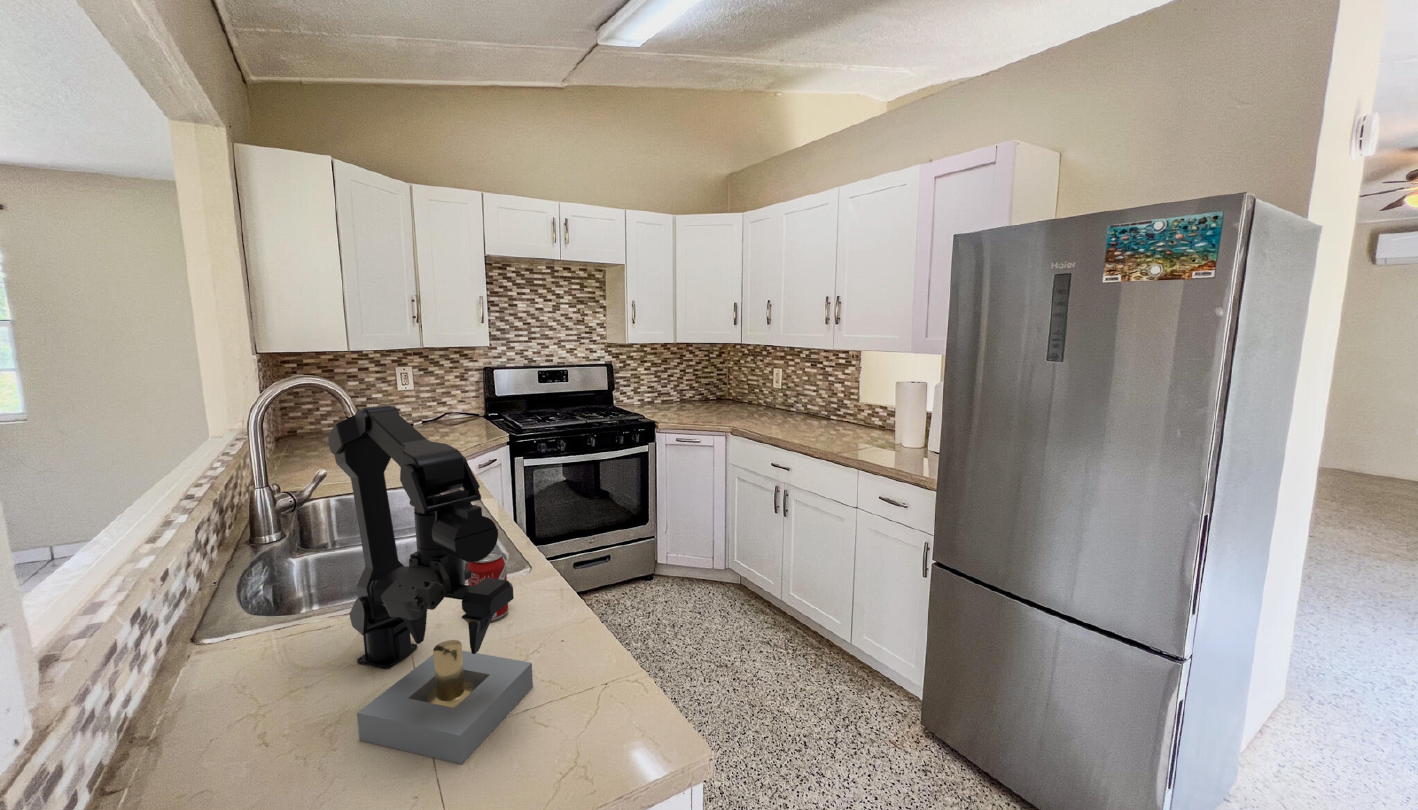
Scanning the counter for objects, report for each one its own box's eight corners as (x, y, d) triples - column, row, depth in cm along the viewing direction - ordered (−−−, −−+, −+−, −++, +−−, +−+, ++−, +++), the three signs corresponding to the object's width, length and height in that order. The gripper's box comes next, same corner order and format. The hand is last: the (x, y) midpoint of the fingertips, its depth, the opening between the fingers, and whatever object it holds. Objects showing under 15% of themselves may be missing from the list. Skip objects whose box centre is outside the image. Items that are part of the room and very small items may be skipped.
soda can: (495, 626, 104) (492, 563, 103) (462, 622, 106) (458, 560, 104) (515, 608, 111) (512, 549, 109) (484, 604, 112) (480, 546, 111)
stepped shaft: (418, 722, 79) (413, 655, 78) (449, 695, 85) (444, 632, 84) (455, 730, 78) (450, 662, 76) (483, 702, 83) (479, 638, 82)
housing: (359, 740, 76) (356, 712, 75) (444, 670, 91) (442, 647, 91) (461, 764, 72) (459, 735, 71) (532, 686, 87) (531, 662, 86)
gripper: (333, 557, 73) (344, 670, 75) (457, 574, 68) (465, 694, 70) (401, 527, 83) (409, 626, 85) (513, 540, 78) (518, 645, 81)
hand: (447, 647), depth 80 cm, fingers open, 9 cm apart
